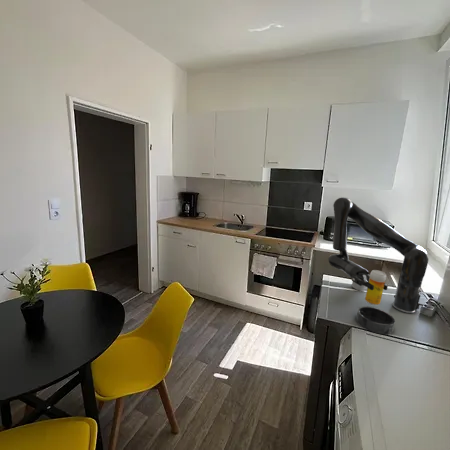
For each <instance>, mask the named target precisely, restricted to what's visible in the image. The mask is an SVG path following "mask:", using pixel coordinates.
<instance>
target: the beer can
mask: <svg viewBox="0 0 450 450" xmlns="http://www.w3.org/2000/svg"><path fill="white" fill-rule="evenodd" d="M369 275H370V278H369V283H370V284H372V285H373V286H374V289H373V290H370V289H369V288H367V287H366V293H365V297H364V300H365V302H367V303H368V304H369V305H370V306H371V305H372V306H379V305H380V304H381V301H382V297H383V293H384V284H385V283H386V279H387V274H386V273H385V272H384V271H382V270H377V269H373V270H371V272H369ZM385 285H386V284H385Z"/></svg>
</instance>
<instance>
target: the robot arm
mask: <svg viewBox="0 0 450 450" xmlns="http://www.w3.org/2000/svg"><path fill="white" fill-rule="evenodd" d="M332 207H333V213H334V214H333V216H334V229H333V241H332V248H333V250H335V251H338V253H332V254H330V255H329V256H328V263H329V265H330V266H331V267H333V268H335V269H337V270H339V271H342V272H344V274H346V275H347V276H348V277H349V278H351V281H352V283H353V282H355V283H356V284H358V285H360V286H362V285H363V286H365V287H366V289H367V288H369V289H370V290H373V289H374V286H373V285H372V284H370V283H369V278H370V272H369V270H367V269H366V268H364V267H362V266H361V265H360V264H357V263H355V262H354V261H352V260H350V259H349V258H350V257H349V254H348V249H347V245H348V219H349V218H350V219H351V220H352V221H354V223H356V224H357V225H358V226H359V227H360V228H361V229H362V230H363V231H364V232H365V233H366V234H368V235H369V236H371V237H372V238H373V239H375V240H377V241H378V242H380V243H382V244H384V245H387V246H389V247H391V248H393V249H394V250H395V251H397V252H398V253H399V254H401V255H402V256H403V260H402V261H403V262H402V265H401V269H400V273H399V277H398V282H397V286H396V291H395V294H394V296H393V298H394V299H393V303H392V307H393V308H394V309H396V310H397V311H399V312H402V313H406V314H414V313H416V312H417V311H418V310H419V308H420V307H423V305H424V304H422V303H420V299H421V294H420V292H421V289H422V284H423V281H424V277H425V276H426V271H427V268H428V264H429V253H428V251H427V250H426V249H424V247H422V246H421V245H418V244H416V243H415V242H413V241H411V240H409V239H407V238H405V237H404V236H403V235H402V234H400V233H399V232H398V231H396V230H395V229H394V228H392V227H391V226H390V225H388V224H387V223H385V222H384V221H382V220H381V219H379V218H378V217H377V216H374V214H373V215H372V214H371V213H369V212H367V211H365V210H363V209H362V208H361V207H359V206H358V205H357V204H356V203H354V201H353V200H351V199H350V198H348V197H344V196H343V197H342V196H341V197H338V198H337V199H335V200H334V202H333V205H332ZM383 291H388V284H384V289H383Z"/></svg>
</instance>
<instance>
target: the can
mask: <svg viewBox="0 0 450 450" xmlns="http://www.w3.org/2000/svg"><path fill="white" fill-rule="evenodd" d="M351 286H352V288H353V289H354V290H357V291H363V292H364V291H366V290H367V287H365V286H363V285H362V286H360V285H358V284H356V283H355V282H353V281H352V282H351Z"/></svg>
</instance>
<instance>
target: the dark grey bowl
mask: <svg viewBox="0 0 450 450" xmlns="http://www.w3.org/2000/svg"><path fill="white" fill-rule="evenodd" d="M355 321H356V323H357V324H358V325H360V327H362V328H363V329H365V330H367V331H370V332H371V333H375V334H379V335H390V334H392V333H393V332H394V328H395V324H396V319H395V318H394V317H393V316H392V315H391V314H389V313H388V312H386V311H384V310H382V309H380V308H377V307H373V306H359V307H358V308H357V311H356V317H355Z"/></svg>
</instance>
